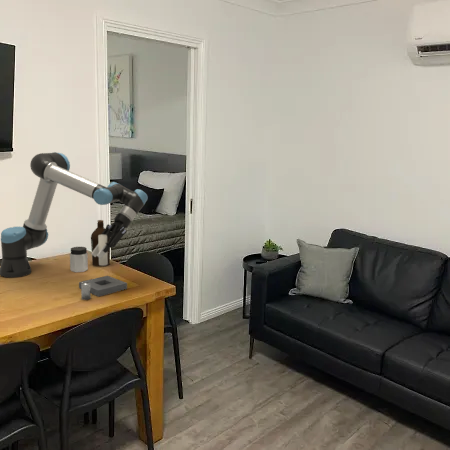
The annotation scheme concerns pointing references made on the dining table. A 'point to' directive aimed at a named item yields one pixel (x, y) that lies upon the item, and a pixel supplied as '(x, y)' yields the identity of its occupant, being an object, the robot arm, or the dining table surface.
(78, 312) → the dining table surface
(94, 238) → the olive oil
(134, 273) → the dining table surface
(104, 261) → the long pin
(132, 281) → the dining table surface
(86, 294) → the short pin
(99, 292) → the hole plate
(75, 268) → the jar
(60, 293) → the dining table surface
